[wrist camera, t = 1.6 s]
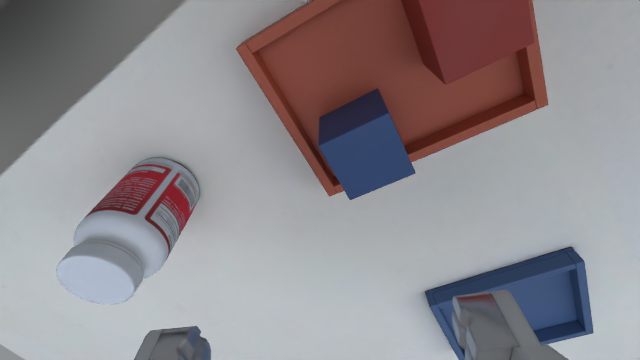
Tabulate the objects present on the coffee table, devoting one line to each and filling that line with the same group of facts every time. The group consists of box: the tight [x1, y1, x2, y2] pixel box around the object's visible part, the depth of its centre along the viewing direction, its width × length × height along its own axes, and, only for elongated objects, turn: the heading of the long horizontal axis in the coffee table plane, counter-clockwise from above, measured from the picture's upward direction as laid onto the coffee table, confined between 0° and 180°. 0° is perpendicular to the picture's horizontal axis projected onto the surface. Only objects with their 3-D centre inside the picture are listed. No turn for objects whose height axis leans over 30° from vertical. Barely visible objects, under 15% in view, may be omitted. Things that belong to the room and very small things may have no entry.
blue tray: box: [425, 247, 593, 360], centre depth 38 cm, size 16×14×2 cm
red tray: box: [236, 0, 548, 196], centre depth 23 cm, size 18×14×2 cm
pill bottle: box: [56, 158, 199, 304], centre depth 25 cm, size 6×6×11 cm
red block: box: [401, 0, 535, 85], centre depth 19 cm, size 5×5×5 cm
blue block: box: [318, 89, 415, 200], centre depth 24 cm, size 5×5×5 cm
